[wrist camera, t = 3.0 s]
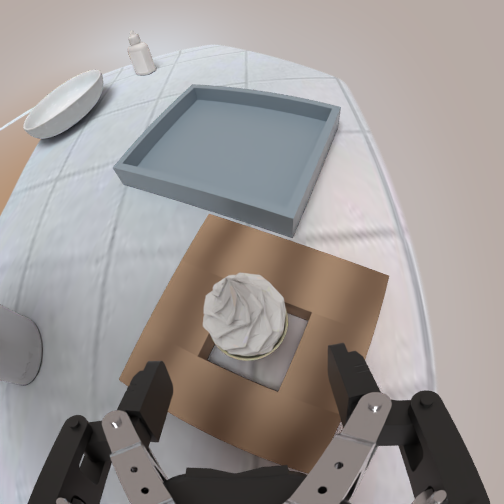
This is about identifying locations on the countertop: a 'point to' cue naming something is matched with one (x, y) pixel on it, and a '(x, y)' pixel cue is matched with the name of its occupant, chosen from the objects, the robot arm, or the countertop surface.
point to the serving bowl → (65, 105)
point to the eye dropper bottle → (140, 55)
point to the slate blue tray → (235, 154)
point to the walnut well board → (304, 361)
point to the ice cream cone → (245, 316)
